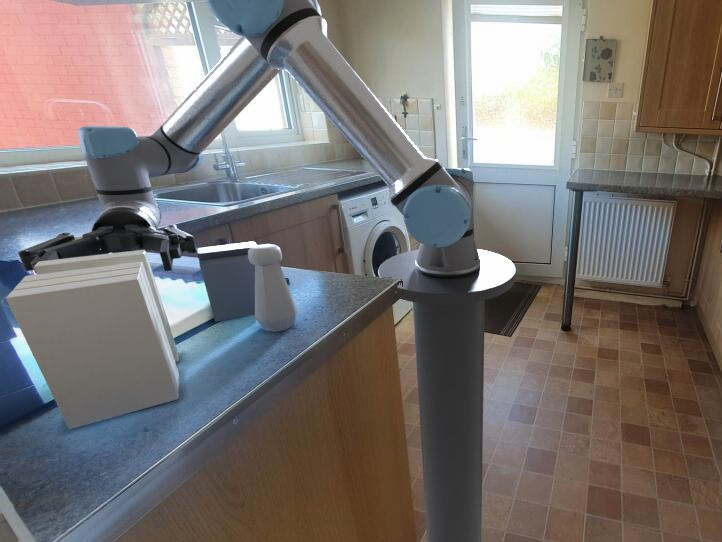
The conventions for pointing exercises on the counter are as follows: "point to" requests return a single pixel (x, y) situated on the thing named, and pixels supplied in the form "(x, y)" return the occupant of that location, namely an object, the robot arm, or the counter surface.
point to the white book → (107, 260)
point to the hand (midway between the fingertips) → (107, 268)
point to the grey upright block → (229, 279)
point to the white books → (97, 340)
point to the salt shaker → (271, 289)
